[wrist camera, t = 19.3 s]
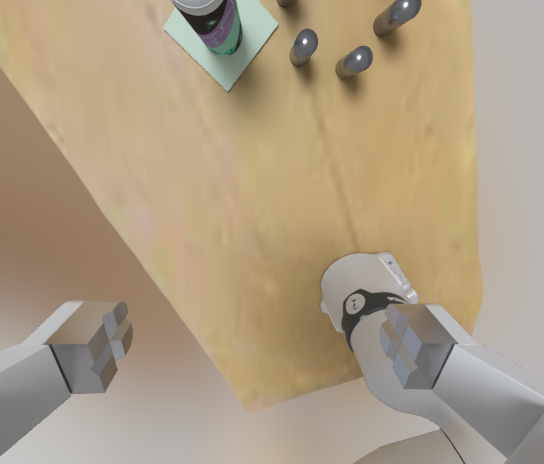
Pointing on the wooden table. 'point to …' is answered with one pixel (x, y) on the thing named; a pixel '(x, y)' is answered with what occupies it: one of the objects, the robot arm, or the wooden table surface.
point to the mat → (229, 69)
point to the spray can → (214, 23)
